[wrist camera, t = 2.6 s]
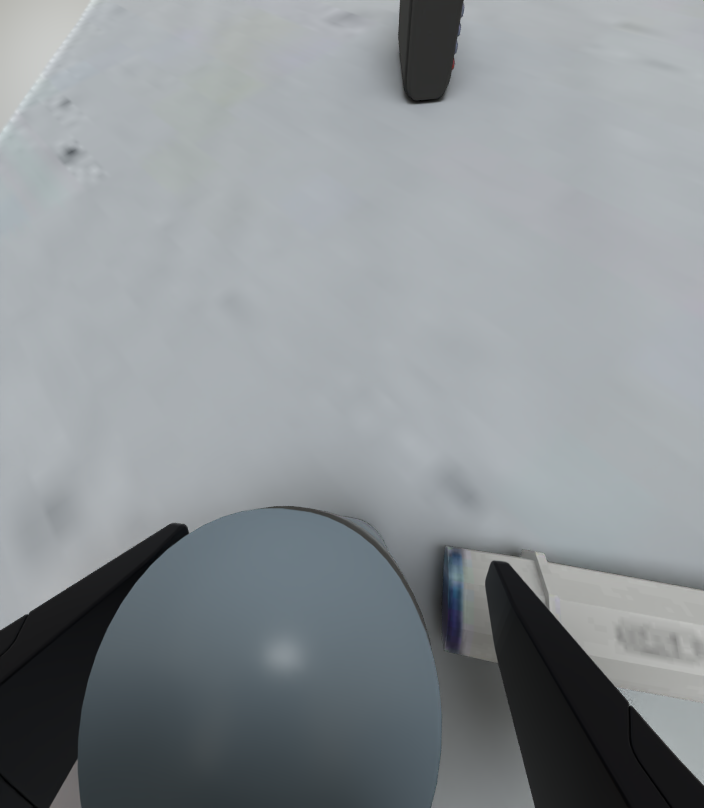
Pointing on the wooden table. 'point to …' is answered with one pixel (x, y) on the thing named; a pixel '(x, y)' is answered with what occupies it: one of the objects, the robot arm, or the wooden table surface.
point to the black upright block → (428, 45)
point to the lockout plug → (265, 675)
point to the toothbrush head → (588, 619)
